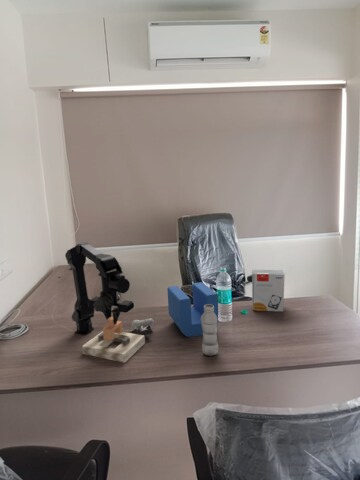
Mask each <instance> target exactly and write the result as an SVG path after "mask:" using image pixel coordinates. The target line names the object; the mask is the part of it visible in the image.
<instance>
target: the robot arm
mask: <svg viewBox="0 0 360 480" xmlns="http://www.w3.org/2000/svg"><path fill="white" fill-rule="evenodd" d="M64 256H65V260H66V261H67V262H66V263H67V264H68V266H69V267H70V268H71V269H72V270H71V271H72V275H73V281H74V288H75V295H76V301H75V303H74V311H73V313H72V314H71V319H72V321H73V322H75V324H76V330H74V333H75V334H80V335H85V336H86V335H87V334H89V333H90V332H92V331H93V330H95V327H93V322H92V319H91V318H94V317H95V312H100V313H103V315H104V317H105V319H106V320H107V319H108V318H110V317H111V316H113V321H114V324H116V323H117V321H119V317H120V315H121V313H128V312H130V311H131V310H132V309H134V308H135V304H134V303H135V302H134V301H132V300H126V299H125V300H122V301H121V302H119V301H120V297H118V293H119V294H126V293H127V292H128V291H129V289H130V285H131V283H130V281H129V280H128V278H126V276H125V275H123V271H122V266H120V263H119V261H118V259H117V258H116V257H115V256H114V255H112V254H108V253H107V254H104V253H102V252H101V251H99V250H98V249H96V248H95V247H93V246H92V245H90V243H89V242H87V241H86V242H80V243H77V244H76V245H75V246H73V247H72V248H70V249H68V250H66V252H65V255H64ZM87 259H88V260H90V261H91V262H92V263H94V264H95V268H96V270H98V272H99V273H98V276H99V277H100V280H101V281H100V282H101V291H100V293H99V296H95V297H93V298H89V296H88V289H87V282H86V276H85V270H84V267H85V264H86V262H87ZM112 307H113V308H112Z"/></svg>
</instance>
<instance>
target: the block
mask: <svg viewBox="0 0 360 480" xmlns="http://www.w3.org/2000/svg"><path fill="white" fill-rule="evenodd" d="M208 304H210V305H213V306H214V311H213V312H214V313H215V315H216V316H217V319H218V320H217V326H218V325H219V294H218V293H217V292H215V291H214V290H212V289H211V288H210V287H209V286H207V285H206V284H205V283H203V282H201V281H200V282H195V283H192V300H191V298H190V297H189V296H188V295H187V294H186V293H185V292H184V291H183V290H182V289H181V288H180V287H178V285H173V286H168V287H167V307H168V315H169V316H170V318H171V320H172V321H173V322H174V323H175V325H176V326H177V327H178V329H179V330H180V332H181V333H182V334H183V335H185V336H186V337H189V338H193V337H199V336H203V330H202V324H201V316H202V315H203V313H204V312H205V311H204V306H205V305H208ZM192 305H193V306H192Z"/></svg>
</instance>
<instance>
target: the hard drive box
mask: <svg viewBox="0 0 360 480" xmlns="http://www.w3.org/2000/svg"><path fill="white" fill-rule="evenodd" d="M251 272H252V273H251V275H252V276H251V277H252V278H251V279H252V281H251V307H252V308H251V310H252V311H258V312H276V313H277V312H283V313H284V301H285V298H284V297H285V272H284V270H281V269H278V270H277V269H252V271H251Z"/></svg>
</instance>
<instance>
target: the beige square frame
mask: <svg viewBox="0 0 360 480" xmlns="http://www.w3.org/2000/svg"><path fill="white" fill-rule="evenodd" d="M114 336H115V339H113V340H112V341H111V340H105V339H104V337H103V330H102V331H101V332H100V333H98V334H97V335H95V336H94V337H92V339H90V340H89V341H87V342H86V343H84V344H83V345H82V346H81V347H82V354H83V355H87V356H91V357H97V358H101V359H106V360H111V361H116V362H118V363H119V362H120V363H126V362H127V361H128V360H130V358H131V357H132V356H133V355H135V354H136V352H138V351H139V350H140V349H141V348H142V347H143V346H144V345H145V344H146V336H144V335H138V334H135V333H132V332H126V331H123V332H122V333H121V334H117V333H114ZM113 342H117V343H120V344H118V345H117V346H116V347H115V348H112V347H109V346H110V345H111V344H113Z"/></svg>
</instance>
